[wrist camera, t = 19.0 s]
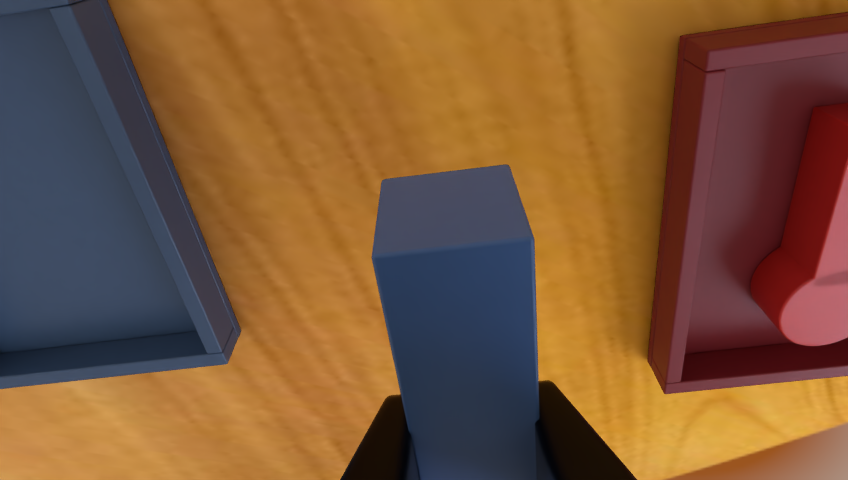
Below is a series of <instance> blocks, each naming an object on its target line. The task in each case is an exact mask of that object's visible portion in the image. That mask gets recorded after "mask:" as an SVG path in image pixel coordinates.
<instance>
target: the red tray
mask: <svg viewBox="0 0 848 480" xmlns="http://www.w3.org/2000/svg"><path fill="white" fill-rule="evenodd" d="M842 103H848V12H845V13H838V14H830V15H823V16H816V17H809V18H802V19H795V20H788V21H781V22H774V23H767V24H760V25H753V26H745V27H738V28H731V29H724V30H717V31H710V32H703V33H696V34H689V35H682V36H680V42H679V52H678V62H677V72H676V82H675V91H674V101H673V111H672V121H671V131H670V141H669V151H668V161H667V171H666V181H665V191H664V201H663V211H662V221H661V231H660V241H659V251H658V261H657V271H656V281H655V291H654V301H653V311H652V321H651V331H650V341H649V351H648V362H649V364H650V366H651V368H652V370H653V372H654V374H655V376H656V378H657V380H658V382H659V384H660V386H661V388H662V390H663V392H664V394H671V393H681V392H691V391H701V390H711V389H721V388H731V387H741V386H751V385H761V384H770V383H780V382H790V381H800V380H810V379H820V378H830V377H840V376H848V337H847V338H845V339H843V340H841V341H838V342H835V343H831V344H827V345H821V346H805V345H800V344H796V343H794V342H792V341H790V340H788V339H787V338H785V337H784V336H783V335H782V333H781V332H780V331H779V330H778V329H777V327H776V326H775V325H774V324H773V323H772V321H771V320H770V319H769V318H768V317H767V315H766V314H765V313H764V312H763V311H762V309H761V308H760V307H759V306H758V305H757V303H756V302H755V301H754V299H753V297H752V294H751V287H750V286H751V280H752V276H753V274H754V272H755V270H756V269H757V267H758V266H759V264H760V263H761V262H762V261H763V260H764V259H765V258H766V257H767V256H768V255H769V254H770V253H772V252H773V251H774V250H776V249H777V248H779V247H781V242H782V238H783V234H784V230H785V226H786V221H787V217H788V213H789V209H790V204H791V200H792V196H793V192H794V188H795V183H796V179H797V175H798V171H799V166H800V162H801V158H802V154H803V150H804V145H805V141H806V137H807V133H808V129H809V124H810V120H811V116H812V112H813V108H814V107H819V106H826V105H834V104H842Z"/></svg>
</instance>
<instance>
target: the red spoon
mask: <svg viewBox="0 0 848 480" xmlns="http://www.w3.org/2000/svg"><path fill="white" fill-rule="evenodd" d="M750 287H751V294H752V297H753V299H754V301H755V302H756V303H757V305H758V306H759V307H760V308H761V309H762V311H763V312H764V313H765V314H766V315H767V317H768V318H769V319H770V320H771V321H772V323H773V324H774V325H775V326H776V327H777V329H778V330H779V331H780V332H781V333H782V335H783V336H784V337H785V338H787V339H788V340H790V341H792V342H794V343H796V344H800V345H805V346H821V345H827V344H831V343H835V342H838V341H841V340H843V339H845V338H847V337H848V103H842V104H834V105H826V106H819V107H814V108H813V112H812V116H811V120H810V124H809V129H808V133H807V137H806V141H805V145H804V150H803V154H802V158H801V162H800V166H799V171H798V175H797V179H796V183H795V188H794V192H793V196H792V200H791V204H790V209H789V213H788V217H787V221H786V226H785V230H784V234H783V238H782V242H781V247H779V248H777V249H776V250H774V251H773V252H772V253H770V254H769V255H768V256H767V257H766V258H765V259H764V260H763V261H762V262H761V263H760V264H759V266H758V267H757V269H756V270H755V272H754V274H753V276H752V280H751V286H750Z"/></svg>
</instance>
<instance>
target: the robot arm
mask: <svg viewBox="0 0 848 480" xmlns="http://www.w3.org/2000/svg"><path fill="white" fill-rule="evenodd" d="M538 384H539V420H537V421H536V422H535V445H536V476H537V480H637V479H636V478H635V477H634V476H633V474H632V473H631V472H630V471H629V470H628V469H627V467H626V466H625V465H624V464H623V463H622V462H621V460H620V459H619V458H618V457H617V456H616V455H615V453H614V452H613V451H612V450H611V449H610V448H609V447H608V445H607V444H606V443H605V442H604V441H603V440H602V438H601V437H600V436H599V435H598V434H597V433H596V431H595V430H594V429H593V428H592V427H591V426H590V425H589V423H588V422H587V421H586V420H585V419H584V418H583V416H582V415H581V414H580V413H579V412H578V411H577V409H576V408H575V407H574V406H573V405H572V404H571V402H570V401H569V400H568V399H567V398H566V397H565V396H564V394H563V393H562V392H561V391H560V390H559V389H558V387H557V386H556V385H555V384H554V383H553V382H551V381H549V380H546V381H538ZM340 480H420V475H419V470H418V466H417V461H416V456H415V451H414V447H413V442H412V437H411V434H410V432H409V430H408V425H407V420H406V416H405V411H404V406H403V402H402V397H401V394H400V395H391V396H388V397H387V398H386V399H385V401H384V402H383V404H382V406H381V408H380V409H379V411H378V413H377V415H376V417H375V418H374V420H373V422H372V424H371V425H370V427H369V429H368V431H367V433H366V434H365V436H364V438H363V440H362V442H361V443H360V445H359V447H358V449H357V451H356V452H355V454H354V456H353V458H352V459H351V461H350V463H349V465H348V467H347V468H346V470H345V472H344V474H343V476H342V477H341V479H340Z"/></svg>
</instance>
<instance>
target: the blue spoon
mask: <svg viewBox="0 0 848 480" xmlns="http://www.w3.org/2000/svg"><path fill="white" fill-rule="evenodd" d="M372 261H373V266H374V271H375V275H376V280H377V285H378V289H379V294H380V299H381V303H382V308H383V313H384V317H385V322H386V327H387V332H388V336H389V341H390V346H391V350H392V355H393V360H394V364H395V369H396V374H397V378H398V383H399V388H400V392H401V397H402V402H403V406H404V411H405V416H406V420H407V425H408V430H409V432H410V434H411V437H412V442H413V447H414V451H415V456H416V461H417V466H418V470H419V475H420V480H537V476H536V445H535V422H536V421H537V420H539V384H538V350H537V315H536V281H535V246H534V237H533V234H532V231H531V228H530V225H529V222H528V219H527V216H526V213H525V210H524V207H523V204H522V202H521V199H520V196H519V193H518V190H517V187H516V184H515V181H514V178H513V175H512V172H511V169H510V167H509V165H498V166H489V167H481V168H473V169H465V170H456V171H448V172H440V173H432V174H423V175H415V176H407V177H399V178H390V179H384V180H382V183H381V191H380V198H379V206H378V214H377V221H376V229H375V236H374V244H373V252H372Z"/></svg>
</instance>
